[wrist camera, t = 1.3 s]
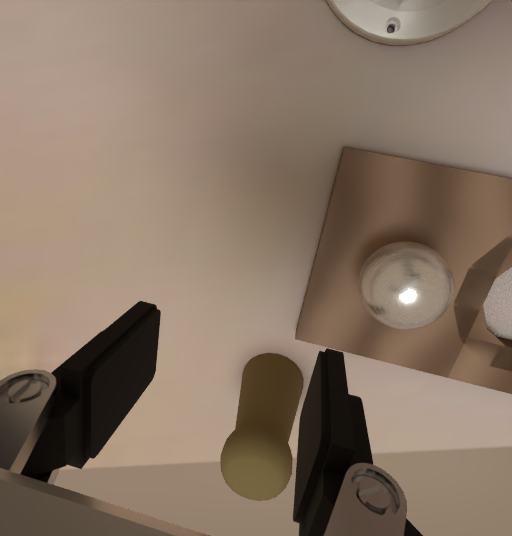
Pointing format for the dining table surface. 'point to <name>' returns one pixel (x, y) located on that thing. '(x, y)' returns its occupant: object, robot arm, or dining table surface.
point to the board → (424, 232)
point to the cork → (263, 428)
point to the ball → (406, 285)
